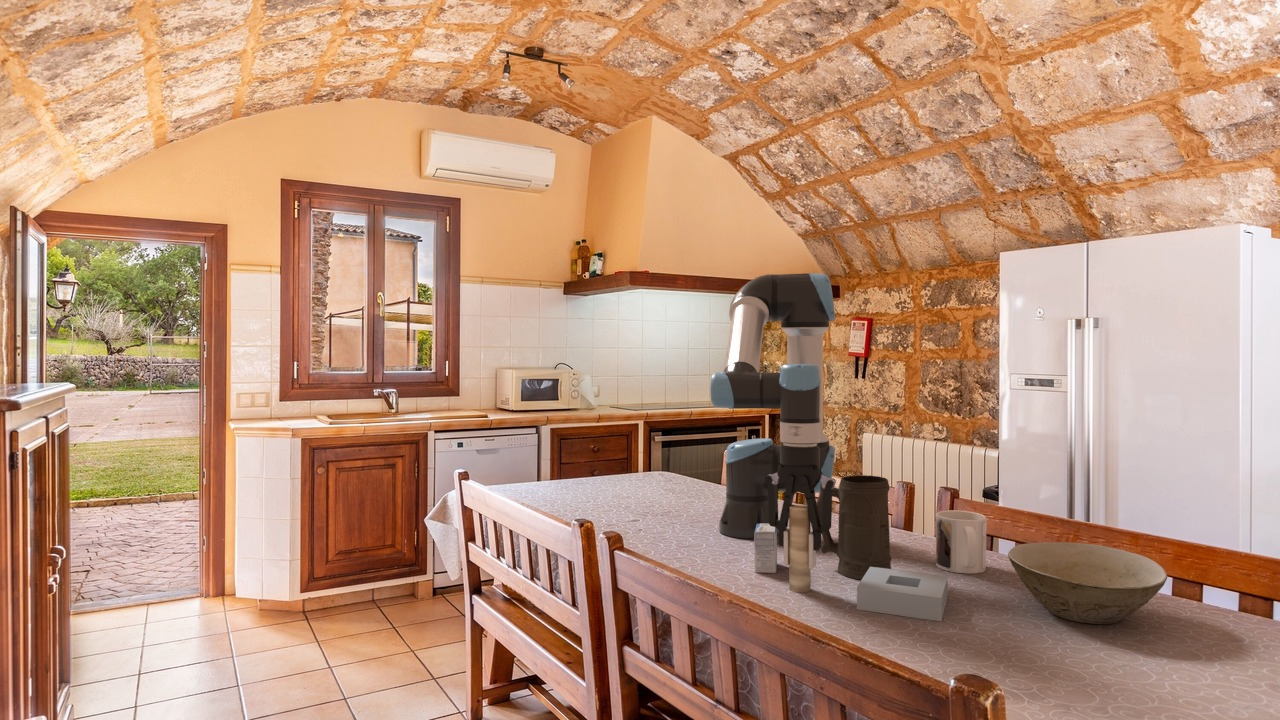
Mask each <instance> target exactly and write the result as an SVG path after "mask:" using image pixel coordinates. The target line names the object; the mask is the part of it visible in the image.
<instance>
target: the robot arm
mask: <svg viewBox="0 0 1280 720" xmlns="http://www.w3.org/2000/svg"><path fill="white" fill-rule="evenodd" d="M830 279H831V278H830V277H829V276H828V275H827V274H825V273H815V272H814V273H813V272H808V273H807V272H806V273H805V272H804V273H785V274H782V273H781V274H770V273H769V274H768V273H767V274H764V275H760V276H757V277H755V278H753V279H751V280H750V281H748V282H747V283H746V284H744V285H743V286H742V287H740V289H739V290H738V291H737V292H736V293H735V295H734V296H733V298H732V300H731V302H730V306H729V313H728V315H729V319H730V321H731V324H730V330H729V335H728V336H729V337H728V340H727V341H728V343H727V349H726V353H725V360H724V365H723V371H721V372H717V371H716V372H714V373H713V374H712V375H711V378H710V385H709V387H710V388H709V389H710V390H709V391H710V394H709V395H710V401H711V404H712V405H713V407H715V408H722V409H729V410H732V409H735V410H736V409H738V410H739V409H742V410H743V409H747V410H748V409H749V410H750V409H755V410H756V409H763V410H764V409H766V410H779V413H780V417H779V418H780V419H779V441H780V442H781V443H780V444H774V441H773V440H772V438H766V437H765V438H752V439H744V440H738V441H735V442H732V443H730V444H729V445H728V446H727V447H726V453H725V454H726V457H725V470H726V471H725V473H726V474H725V482H726V483H725V486H726V487H725V492H726V494H725V496H726V497H725V498H726V499H725V504H724V507H723V509H722V513H721V517H720V519H719V523H718V525H719V526H718V529H719V530H718V531H719V533H720V534H723V535H724V536H729V537H732V538H738V539H753V540H754V534H755V530H756V526H757V524H769V525H770V526H772V527H775V528H777V536H778V545H779V547H780V548H782V547H783V566H784V567H785V566H786V567H787V566H788V567H789V506H791V505H793V501H794V497H795V495H796V494H797V493H800V494H803V495H804V500H805V502H806V505H807V507H808V511H809V516H810V527H811V529H812V531H810V534H809V568H810V570H813V569H815V567H816V566H817V551H818V552H819V551H821V545H822V534H821V533H822V532H827V531H828V530H829V531H830V529H831V528H832V517H833V516H832V514H833V513H832V512H833V511H832V509H833V496H832V490H833V488H834V487H835V485H836V483H837V482H836V481H837V480H836V479H835V478H833V472H834V463H835V456H836V455H835V453H836V448H835V446H833V445H832V444H830V439H829V437H828V436H827V435H826V434H825V432H823V431H824V430H823V429H824V428H823V426H824V425H823V424H824V422H823V420H824V418H823V417H824V415H823V414H824V410H823V408H824V404H823V401H824V394H823V393H824V387H823V386H824V385H823V383H824V382H823V381H824V380H823V377H824V375H823V373H824V363H823V362H824V359H823V358H824V356H823V355H824V353H823V351H824V350H823V349H824V348H823V347H824V345H823V343H824V339H823V338H824V334H825V333H826V332H827V331H828V330H830V322H833V321H835V320H836V314H835V304H834V297H833V296H834V295H833V290H832V284H831V280H830ZM768 322H780V329H781V331H783V332H784V333H785V334H786V338H787V340H786V341H787V342H786V345H787V348H786V349H787V350H786V352H787V354H786V356H787V357H786V359H787V361H786V362H787V363H786V364H783V365H782V366H781V367H780V370H779V371H780V372H764V371H763V372H762V371H761V372H760V367H761V355H762V345H763V338H764V337H763V335H764V328H765V327H764V326H766V324H767V323H768ZM820 484H822V488H824V492H823V517H822V525H821V522H820V517H819V513H818V508H817V499H816V494H817V493H818V494H820ZM778 492H781V493H784V494H783V495H784V497H783V501H782V508H781V512H780V517H779V499H778V497H779V496H778V495H779V493H778Z"/></svg>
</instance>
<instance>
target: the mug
mask: <svg viewBox="0 0 1280 720" xmlns="http://www.w3.org/2000/svg"><path fill="white" fill-rule="evenodd" d="M935 565H936V567H937V568H939V569H941V570H944V571H947V572H952V573H955V574H969V575H970V574H982V573H984V572H985V571H986V569H987V517H986V515H984V514H981V513H978V512H973V511H967V510H966V511H965V510H950V509H949V510H940V511H938V512H936V513H935Z"/></svg>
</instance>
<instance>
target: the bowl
mask: <svg viewBox="0 0 1280 720" xmlns="http://www.w3.org/2000/svg"><path fill="white" fill-rule="evenodd" d="M1007 556H1008V557H1007V558H1008V559H1009V561H1010V564H1011V566H1012V567H1013V569H1014V571H1015V572H1016V574H1017V575H1018V577H1019V578H1020V580H1021V582H1022V583H1023V584H1024V586H1026V588H1027V590H1028V591H1029V592H1030V593H1031V594H1032V595H1033V596H1034V598H1035V599H1036V600H1037V601H1038V602H1039V603H1040V604H1041V605H1042V606H1043V607H1044V608H1045V609H1046V610H1047V611H1049V613H1051V614H1053V615H1054V616H1057V617H1060V618H1062V619H1066V620H1069V621H1074V622H1078V623H1084V624H1085V623H1086V624H1092V625H1110V624H1116V623H1119V622H1121V621H1122V620H1124V619H1125V618H1127V617H1129V616H1131V615H1132V614H1133V613H1135V612H1136V611H1138V610H1139V609H1141V608H1142V607H1143V606H1145V605H1146V604H1147V603H1149V601H1150V600H1151V599H1152V598H1153V597H1155V595H1156V594H1158V593H1159V591H1161V589H1162V588H1163V587H1164V585H1165V584H1166V581H1167V579H1168V575H1167V572H1166V570H1165V569H1164V567H1162V566H1161V565H1160V564H1159V563H1157V562H1156V561H1154V560H1153V559H1151V558H1149V557H1146V556H1145V555H1141V554H1137V553H1135V552H1131V551H1127V550H1123V549H1119V548H1115V547H1110V546H1106V545H1105V546H1104V545H1100V544H1094V543H1093V544H1092V543H1084V542H1067V541H1066V542H1065V541H1059V542H1058V541H1055V542H1054V541H1048V542H1047V541H1043V542H1031V543H1029V542H1028V543H1022V544H1019V545H1015V546H1013V547H1012V548H1010V549H1009V551H1008V552H1007Z"/></svg>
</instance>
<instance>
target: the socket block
mask: <svg viewBox="0 0 1280 720" xmlns="http://www.w3.org/2000/svg"><path fill="white" fill-rule="evenodd" d="M948 578H949V577H948V575H943V574H935V573H928V572H927V573H926V572H921V571H919V572H918V571H910V570H900V569H894V568H891V569H886V568H878V567H870V568H869V569H868V571H867V572H866V574H865V575H864V577H863V578H862V580H860V582H859V583H858V585H857V586H856V610H858V611H865V612H866V611H867V612H872V613H881V614H886V615H887V614H888V615H895V616H902V617H908V618H916V619H922V620H930V621H935V622H936V621H937V622H942V620H943V618H944V617H943V616H944V612H945V610H946V609H945V608H946V605H947V601H948V598H949V597H948V596H949V594H948V590H949V589H948V588H949V586H948V585H949V584H948V583H949V582H948V580H949V579H948Z"/></svg>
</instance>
